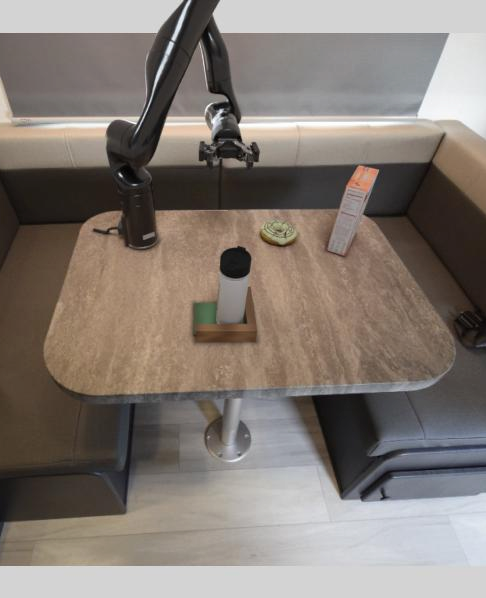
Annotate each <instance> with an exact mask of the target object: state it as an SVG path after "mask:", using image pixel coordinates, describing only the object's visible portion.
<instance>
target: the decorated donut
mask: <svg viewBox="0 0 486 598" xmlns="http://www.w3.org/2000/svg"><path fill="white" fill-rule="evenodd" d="M260 234H261V237H262V238H263V239H264V241H266V242H267V243H269V244H270V245H275V246H283V247H285V246H288V245H291V244H293V243H294V242H295V241H296V238H297V236H298V230H297V229H296V228H295V226H294V225H293V224H292V223H289V221H286V220H282V219H269V220H267V221H265V222H264V223H263V224H262V225H261V227H260Z"/></svg>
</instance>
